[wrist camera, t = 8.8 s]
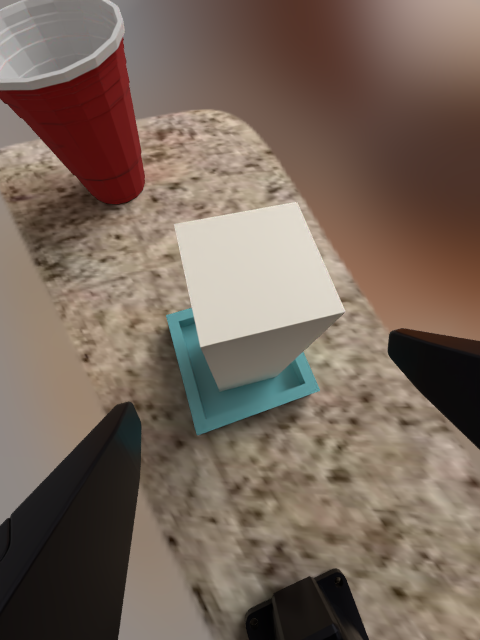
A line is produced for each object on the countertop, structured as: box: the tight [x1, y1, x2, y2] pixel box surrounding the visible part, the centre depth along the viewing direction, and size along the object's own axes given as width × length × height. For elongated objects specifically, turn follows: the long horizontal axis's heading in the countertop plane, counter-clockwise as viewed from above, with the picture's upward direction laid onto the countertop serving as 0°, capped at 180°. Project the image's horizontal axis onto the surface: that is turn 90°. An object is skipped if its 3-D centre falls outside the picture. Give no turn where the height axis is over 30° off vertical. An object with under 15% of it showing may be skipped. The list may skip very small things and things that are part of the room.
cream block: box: [174, 202, 345, 392], centre depth 14 cm, size 4×4×13 cm
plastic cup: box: [0, 0, 145, 204], centre depth 22 cm, size 11×11×12 cm
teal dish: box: [166, 308, 320, 435], centre depth 20 cm, size 9×9×2 cm
